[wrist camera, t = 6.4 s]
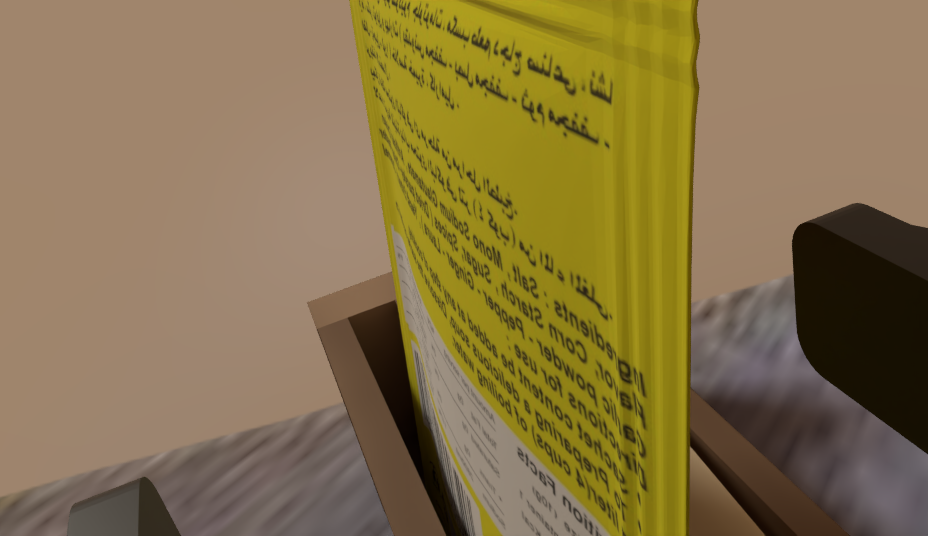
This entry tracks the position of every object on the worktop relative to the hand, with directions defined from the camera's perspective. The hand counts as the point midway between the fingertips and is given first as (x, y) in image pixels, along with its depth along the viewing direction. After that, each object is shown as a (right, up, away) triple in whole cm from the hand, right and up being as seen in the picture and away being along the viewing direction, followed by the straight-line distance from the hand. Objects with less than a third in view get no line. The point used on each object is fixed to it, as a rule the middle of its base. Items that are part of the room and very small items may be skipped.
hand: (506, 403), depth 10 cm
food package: (+1, -11, +12) cm, 16 cm away
